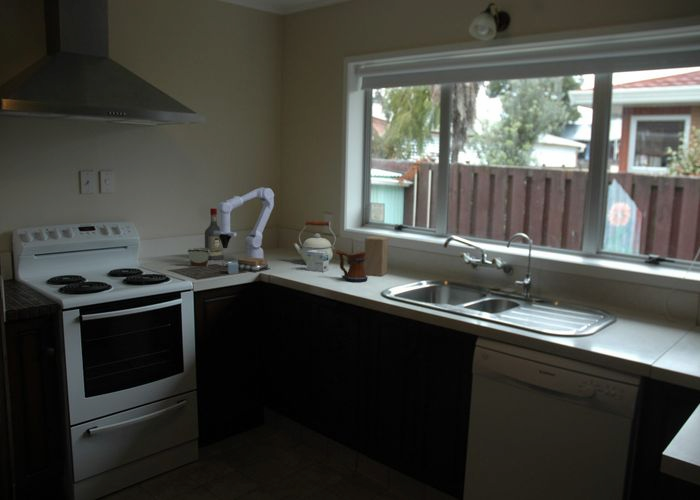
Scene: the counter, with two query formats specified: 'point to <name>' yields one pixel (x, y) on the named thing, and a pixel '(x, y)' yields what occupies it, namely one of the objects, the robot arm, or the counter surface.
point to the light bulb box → (318, 260)
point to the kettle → (315, 242)
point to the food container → (198, 257)
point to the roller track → (246, 267)
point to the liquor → (213, 238)
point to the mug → (353, 266)
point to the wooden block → (376, 255)
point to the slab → (252, 261)
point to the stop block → (233, 268)
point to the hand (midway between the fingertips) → (225, 248)
